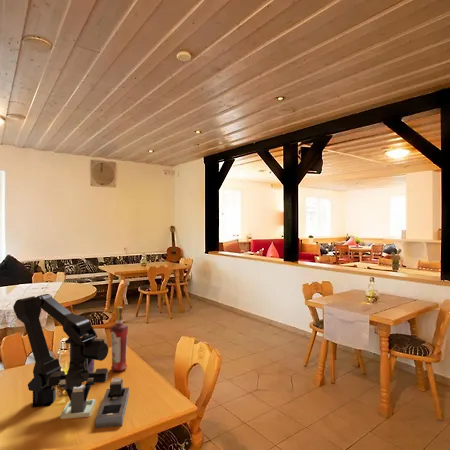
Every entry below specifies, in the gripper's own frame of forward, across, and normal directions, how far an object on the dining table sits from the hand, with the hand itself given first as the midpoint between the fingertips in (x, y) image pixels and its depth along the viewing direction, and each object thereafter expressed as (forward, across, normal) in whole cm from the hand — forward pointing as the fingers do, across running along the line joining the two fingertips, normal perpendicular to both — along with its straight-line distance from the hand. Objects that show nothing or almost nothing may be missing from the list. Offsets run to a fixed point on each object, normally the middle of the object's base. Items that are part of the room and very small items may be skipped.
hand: (78, 401), depth 119 cm
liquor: (+4, +9, +34) cm, 35 cm away
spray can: (+4, -4, +32) cm, 32 cm away
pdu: (+4, +12, -2) cm, 13 cm away
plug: (+3, 0, 0) cm, 3 cm away
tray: (+4, 0, 0) cm, 4 cm away
